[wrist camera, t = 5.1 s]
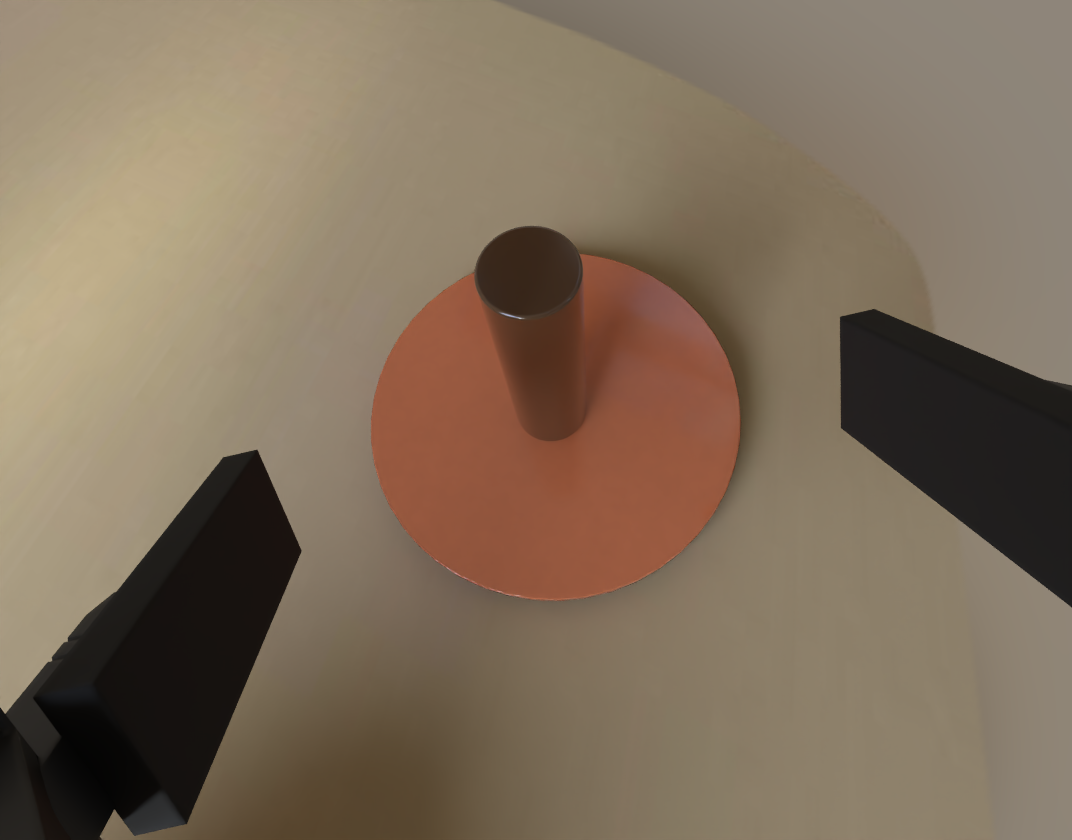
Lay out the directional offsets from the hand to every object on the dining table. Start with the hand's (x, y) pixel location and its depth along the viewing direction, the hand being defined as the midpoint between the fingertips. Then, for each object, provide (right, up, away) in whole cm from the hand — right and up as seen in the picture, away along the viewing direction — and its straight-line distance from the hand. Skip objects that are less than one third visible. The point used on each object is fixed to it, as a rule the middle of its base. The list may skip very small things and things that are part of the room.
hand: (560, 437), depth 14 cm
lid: (0, +1, +10) cm, 10 cm away
